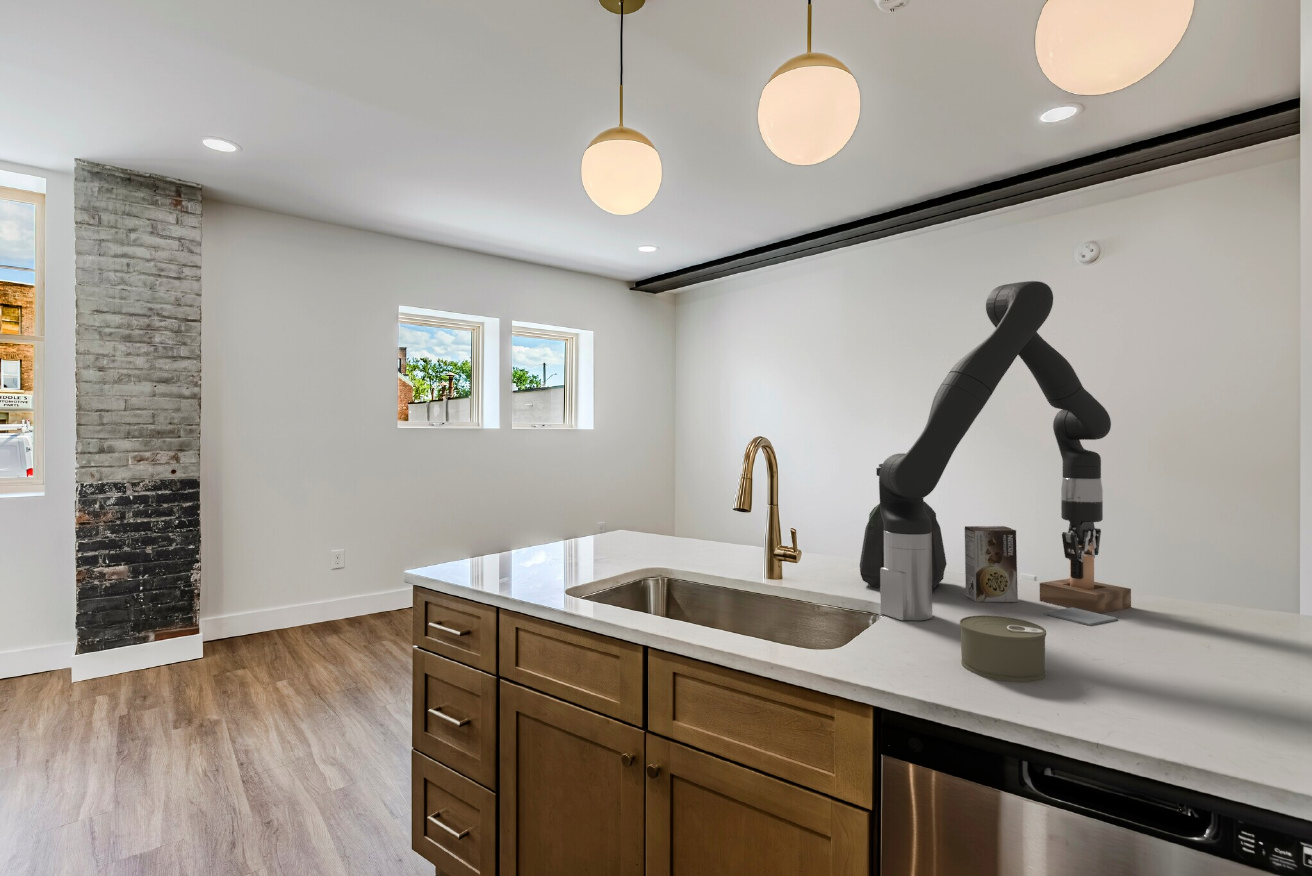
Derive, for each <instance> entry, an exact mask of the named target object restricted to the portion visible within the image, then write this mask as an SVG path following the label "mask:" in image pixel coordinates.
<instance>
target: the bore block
mask: <svg viewBox="0 0 1312 876" xmlns="http://www.w3.org/2000/svg"><path fill="white" fill-rule="evenodd" d="M1039 601H1040V602H1042V601H1044V602H1043V603H1047V604H1051V603H1052V605H1055V606H1059V605H1060V606H1061V607H1064V608H1071V607H1073V608H1077V609H1081V610H1086V611H1090V612H1094V613H1098V614H1104V613H1109V612H1115V611H1120V610H1126V609H1130V608H1132V589H1131V588H1130V587H1129V588H1128V587H1125V586H1124V587H1123V586H1118V585H1114V584H1110V583H1109V584H1108V583H1102V582H1098V581H1094V589H1093V590H1087V589H1082V588H1077V587H1072V586H1070V577H1069V578H1063V579H1057V580H1051V581H1043V582H1039Z"/></svg>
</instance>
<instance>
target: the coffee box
mask: <svg viewBox="0 0 1312 876" xmlns="http://www.w3.org/2000/svg"><path fill="white" fill-rule="evenodd" d="M1017 553H1018V552H1017V529H1013V528H1010V527H1008V526H1004V525H1001V526H1000V525H997V526H996V525H992V526H991V525H987V526H985V525H982V526H979V525H978V526H975V525H974V526H964V565H965V571H964V574H965V596H967V597H968V598H969V599H971V600H973V601H974V602H976V603H978V602H979V603H981V602H982V603H984V602H985V603H987V602H990V603H991V602H993V603H999V602H1001V603H1002V602H1003V603H1005V602H1006V603H1017V602H1019V600H1018V599H1019V598H1018V597H1019V596H1018V595H1019V594H1018V560H1017V558H1018V557H1017V555H1018V554H1017Z"/></svg>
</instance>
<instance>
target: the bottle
mask: <svg viewBox="0 0 1312 876" xmlns="http://www.w3.org/2000/svg"><path fill="white" fill-rule="evenodd" d="M882 464H883V463H879V464H878V467H876V468H875V469H876V477H879V474H880V469H881V466H882ZM924 508H925V511H926V513H927V515H928V516H929V517H930V519H931V522H932V590H934V589H935V588H936V587H937V586H938V585H939V584H940V583H941V582H942V581H943V579H944V577H945V576H944V575H945V570H946V568H947V565H948V564H947V559H946V552H945V547H944V543H943V542H944V541H943V536H942V531H941V526H940V524H939V522H938V520H937V513H936V512H935V510H934V509H933V508H932V507H931V506H930V505H929V504H928V503H927V502H926V501H924ZM859 561H860V562H859V573H860V577H861V578H862V581H863V582H865V583H867V584H868V585H869V586H870V587H873V588H874V587H875V588H880V569H881V568H882V567H884V523H883V519H882V516H881V512H880V503H879V504H877V505H876V506H874V507H873V508H872V510H871V511H870V512H869V515H868V522H867V524H866V526H865V529H864V537H863V541H862V548H861V554H860V560H859Z"/></svg>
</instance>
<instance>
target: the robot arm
mask: <svg viewBox="0 0 1312 876" xmlns="http://www.w3.org/2000/svg"><path fill="white" fill-rule="evenodd" d="M1053 305H1054V294H1053V290H1052V288H1051V287H1050V286H1049V285H1048V284H1047V283H1046V282H1043V281H1036V280H1031V281H1021V282H1020V281H1019V282H1013V283H1009V284H1007V283H1006V284H1002V285H999V286H997V287H995V288H994V289H992V290H991V292H990V293H989V294H988V296H987V298H986V301H985V312H986V315H987V318H988V319H989V321H990V322H991V323H992V326H994V328H995V329H994V330H993V331H992V333H990V335H989V336H988V337H987V338H985V340H983V341H982V342H981V343H980V344H978V345H977V346H976V347H974V349H972V350H970V351H969V352H968V353H967V354H965V355H964V356H963V357H962V358H960V360H958V361H957V362H956V363H955V364H954V365H953V367H952V368H951V369H950V370H949V372H948V373H947V375H946V377H944V379H943V381H942V382H941V384H940V385H939V387H938V388H937V390H936V393H935V395H934V397H933V400H932V404H931V406H930V411H929V415H928V419H927V422H926V425H925V427H924V428H923V431H922V432H921V434H920V435H919V437H918V438H917V439H916V440H915V442H914V443H913V445H912V446H911V447H910V448H909V450H908V451H907V452H906V453H905V452H904V453H894V454H892V455H890V456H888V457H887V458H886V459H885V460H884V461H883V463H881V464H882V466H881V467H880V468H881V469H880V474H879V476H878V490H879V491H878V492H879V493H878V494H879V495H878V497H879V504H880V512H881V516H882V519H883V523H884V567H882V568H881V569H880V587H879V588H880V589H879V590H880V593H879V594H880V614H882V615H886V616H888V617H890V618H894V619H895V620H896V619H897V620H900V621H926V620H930V619H932V618H933V589H932V522H931V519H930V517H929V516H928V515H927V513H926V511H925V508H924V502H925V501H924V498H925V497H927V496H928V495H930V494H931V493H932V492H933V491H934V490H935V488H936V487H937V485H938V483H939V481H940V479H941V477H942V475H943V474H944V472H945V469H947V468H946V467H947V466H948V464H949V462H950V460H951V457H952V456H953V455H954V451H955V450H956V448H957V447H958V445H959V444H960V442H961V441H962V440H963V437H965V435H966V433H967V432H968V431H969V429H970V428H971V426H972V424H974V422H975V420H976V418H977V417H978V416H979V414H980V413H981V412H982V410H983V409H984V407H985V406H986V404H987V403H988V401H989V400H990V398H991V397H992V395H993V394H994V391H995V390H996V388H997V386H998V384H999V383H1000V382H1001V380H1002V379H1003V377H1004V376H1005V375H1006V373H1007V372H1008V370H1009V368H1010V367H1011V365H1012V364H1013V363H1014V361H1015V360H1016V358H1017V357H1018V356H1019V357H1020V359H1021V361H1022V362H1023V364H1025V365H1026V367H1027V368H1028V369H1029V371H1030V372H1031V375H1032V376H1033V377H1034V379H1035V381H1036V383H1037V384H1038V386H1039V389H1040V390H1041V391H1042V393H1043V395H1044V397H1045V399H1046V400H1047V402H1048V403H1049V406H1051V407H1052V408H1054V409H1057V410H1058V409H1059V411H1058V412H1057V413H1056V414H1055V416H1054V420H1053V423H1052V427H1053V434H1054V437H1055V439H1056V443H1057V446H1058V448H1059V452H1060V456H1061V459H1062V481H1061V489H1060V491H1061V497H1060V499H1061V500H1060V502H1061V505H1060V506H1061V507H1060V509H1061V513H1060V514H1061V516H1060V517H1061V519H1062V520H1064V521H1068V522H1069V526H1068V531H1066V532H1065V531H1063V532H1061V539H1062V545H1063V546H1062V547H1063V552H1064V558H1065V559H1068V560H1069V561H1070V560H1071V577H1072V578H1075V579H1082V578H1083V559H1084V554H1088V555H1093V556H1094V559H1095V558H1096V556H1098V555H1099V552H1100V551H1099V550H1100V542H1101V534H1102V531H1101V530H1102V529H1101V528H1096V527H1095V523H1099V522H1102V521H1103V520H1104V519H1103V517H1104V516H1103V512H1104V511H1103V509H1104V508H1103V506H1104V505H1103V502H1104V500H1103V494H1104V493H1103V492H1104V491H1103V485H1102V458H1101V455H1100V454H1099V453H1097V452H1096V451H1093V450H1088V449H1085V448H1084V447H1083V445H1082V443H1081V441H1086V440H1087V441H1089V440H1090V441H1093V440H1095V441H1096V440H1102V439H1103V438H1105V437H1106V436H1107V435H1108V434H1109V433H1110V431H1111V427H1112V420H1111V417H1110V414H1109V412H1108V411H1107V409H1106V408H1105V407H1104V406H1103V405H1102V404H1101V403H1100V402H1099V401H1098V400H1097V399H1096V398H1095V397H1094V396H1093V395H1092V394H1091V393H1090V392H1089V391H1088V390H1087V389H1086V388H1084V387H1083V384H1082V382H1081V381H1080V379H1079V377H1078V375H1077V373H1076V371H1075V369H1074V368H1073V366H1072V365H1071V363H1070V362H1069V361H1068V359H1066V357H1064V356H1063V355H1062V354H1061V353H1060V352H1059V351H1057V350H1056V349H1055V348H1054V347H1053V346H1052V345H1050V344H1049V343H1048V342H1047V341H1046V340H1045V339H1044V338H1043V337H1042V336H1041V335H1040V334H1039V333H1038V330H1040V328H1041V327H1042V326H1043V325H1044V323H1045V322H1046V320H1047V319H1048V317H1049V316H1050V314H1051V311H1052V308H1053Z"/></svg>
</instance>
